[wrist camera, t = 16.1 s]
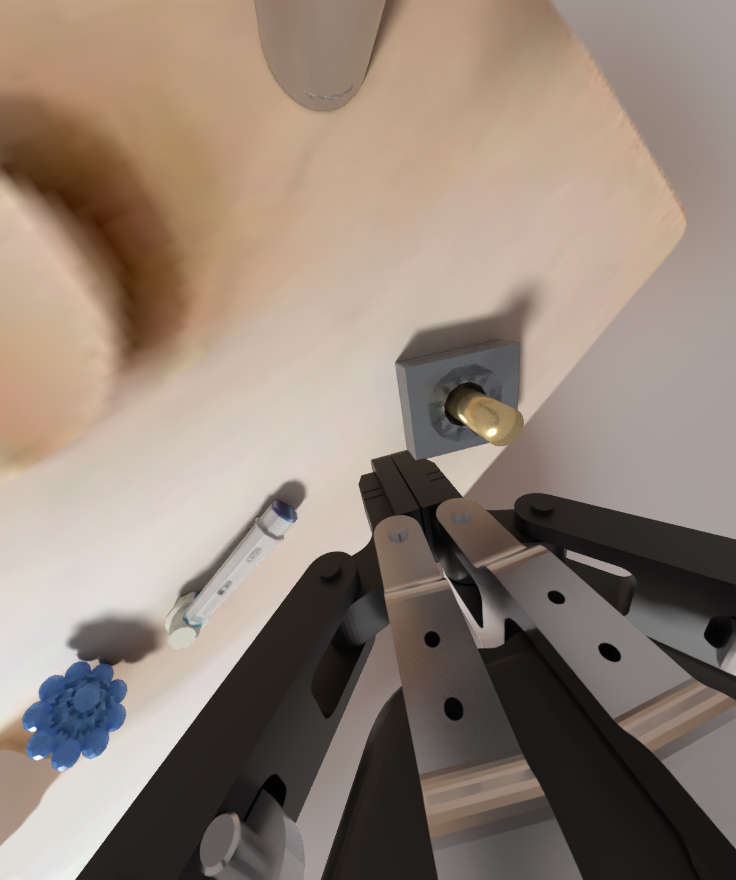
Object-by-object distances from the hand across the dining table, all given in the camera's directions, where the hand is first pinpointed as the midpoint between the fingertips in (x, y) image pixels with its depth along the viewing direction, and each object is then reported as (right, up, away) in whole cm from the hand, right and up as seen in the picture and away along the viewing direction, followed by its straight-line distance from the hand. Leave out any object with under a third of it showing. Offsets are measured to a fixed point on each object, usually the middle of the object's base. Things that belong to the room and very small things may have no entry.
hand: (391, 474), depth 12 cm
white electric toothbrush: (-21, -16, +33) cm, 42 cm away
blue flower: (-41, -32, +35) cm, 63 cm away
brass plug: (+10, +7, +29) cm, 32 cm away
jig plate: (+10, +7, +29) cm, 32 cm away
